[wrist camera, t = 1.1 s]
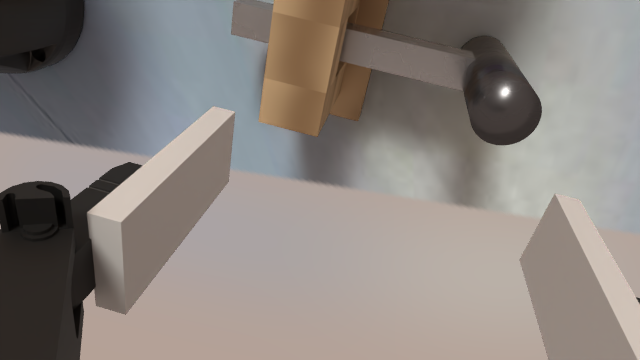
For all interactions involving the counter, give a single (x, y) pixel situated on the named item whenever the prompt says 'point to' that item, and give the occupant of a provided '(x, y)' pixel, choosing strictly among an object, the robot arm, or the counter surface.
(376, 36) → the hook rod
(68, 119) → the counter surface
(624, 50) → the counter surface
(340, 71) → the eye block
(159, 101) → the counter surface
